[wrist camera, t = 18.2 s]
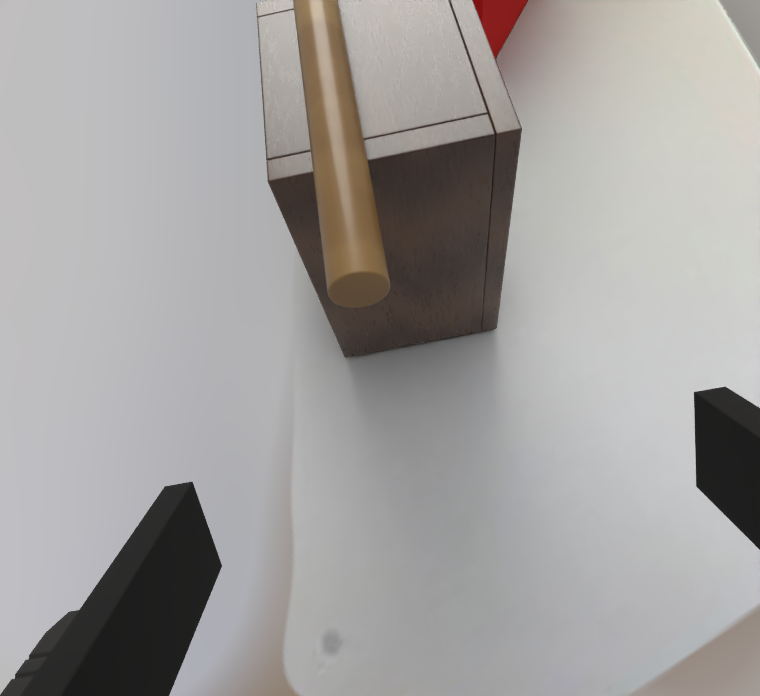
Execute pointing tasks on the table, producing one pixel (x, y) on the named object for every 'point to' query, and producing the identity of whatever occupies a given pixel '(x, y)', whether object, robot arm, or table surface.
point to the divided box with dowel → (390, 162)
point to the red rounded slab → (498, 19)
